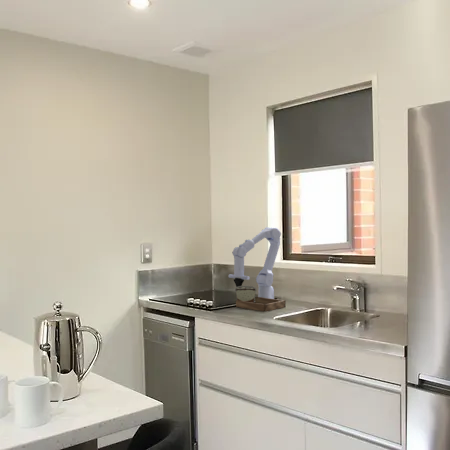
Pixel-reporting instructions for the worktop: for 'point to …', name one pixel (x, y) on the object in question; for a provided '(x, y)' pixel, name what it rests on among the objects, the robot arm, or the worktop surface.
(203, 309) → the worktop surface
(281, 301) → the wooden tray
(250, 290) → the food container
